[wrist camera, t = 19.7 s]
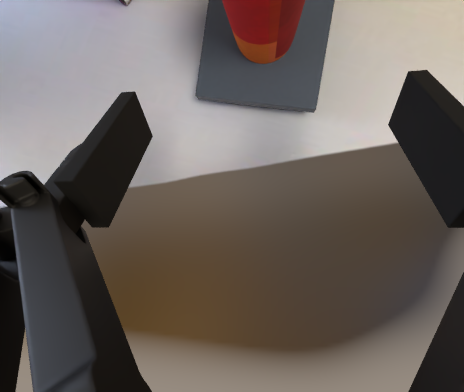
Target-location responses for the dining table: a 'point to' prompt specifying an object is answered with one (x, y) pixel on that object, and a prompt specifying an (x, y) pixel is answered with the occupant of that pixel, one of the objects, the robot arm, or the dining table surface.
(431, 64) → the dining table surface
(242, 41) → the paper cup
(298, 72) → the stand
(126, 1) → the candy bar box
